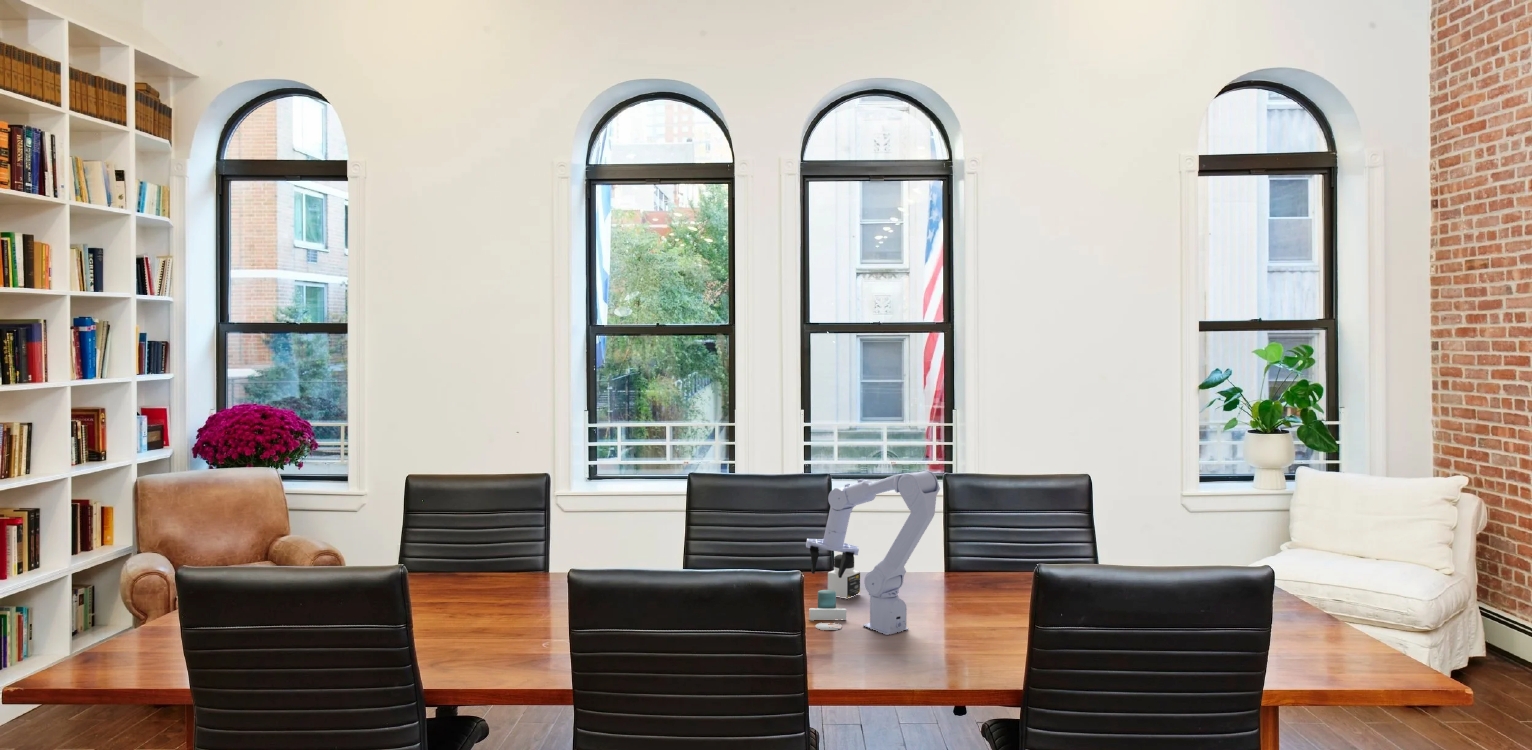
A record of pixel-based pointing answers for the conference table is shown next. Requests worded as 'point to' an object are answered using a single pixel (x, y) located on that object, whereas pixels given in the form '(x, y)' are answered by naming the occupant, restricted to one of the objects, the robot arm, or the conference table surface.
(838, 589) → the medicine bottle
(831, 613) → the divider wall
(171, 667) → the conference table surface
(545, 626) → the conference table surface
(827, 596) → the teal cylinder
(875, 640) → the conference table surface
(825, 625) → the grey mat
